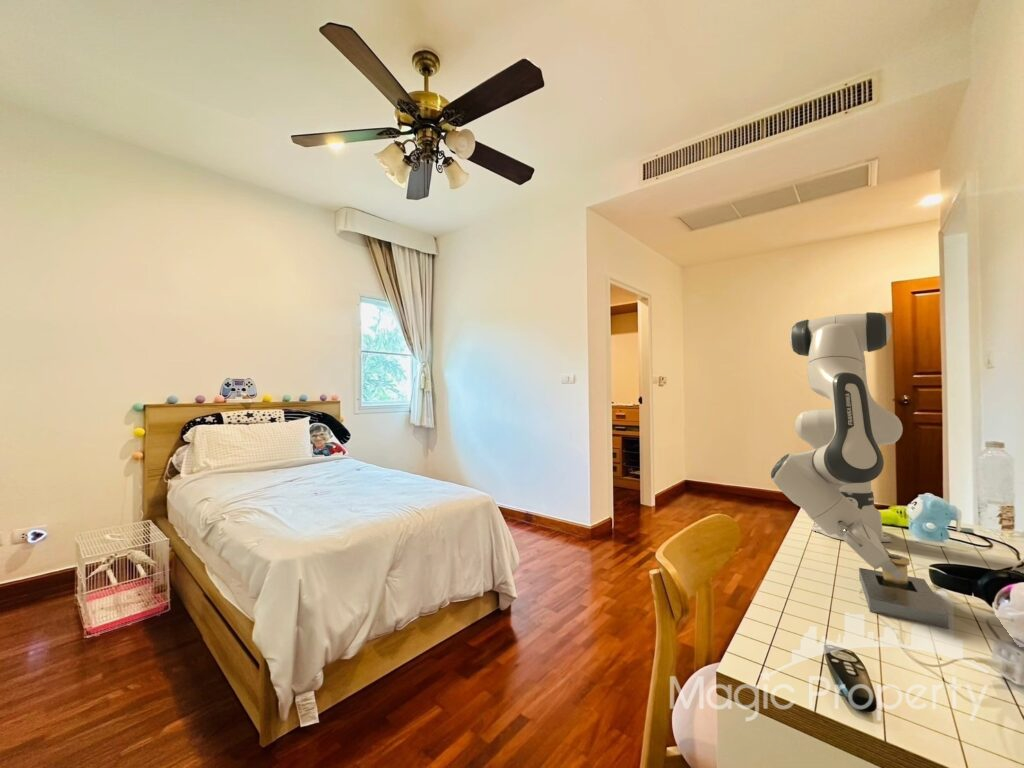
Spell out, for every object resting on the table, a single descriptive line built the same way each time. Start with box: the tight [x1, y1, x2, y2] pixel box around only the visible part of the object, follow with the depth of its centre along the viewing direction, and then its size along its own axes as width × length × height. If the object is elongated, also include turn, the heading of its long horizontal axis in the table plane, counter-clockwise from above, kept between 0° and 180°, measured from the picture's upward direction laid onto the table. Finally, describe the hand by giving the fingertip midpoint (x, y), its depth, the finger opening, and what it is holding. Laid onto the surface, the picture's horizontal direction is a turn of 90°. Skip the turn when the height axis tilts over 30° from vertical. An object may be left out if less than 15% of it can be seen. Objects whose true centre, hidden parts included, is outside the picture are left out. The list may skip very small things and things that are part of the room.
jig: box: [858, 567, 950, 630], centre depth 86 cm, size 18×11×2 cm, turn 145°
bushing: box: [881, 552, 910, 590], centre depth 89 cm, size 5×5×8 cm
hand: (897, 569), depth 88 cm, fingers open, 8 cm apart
